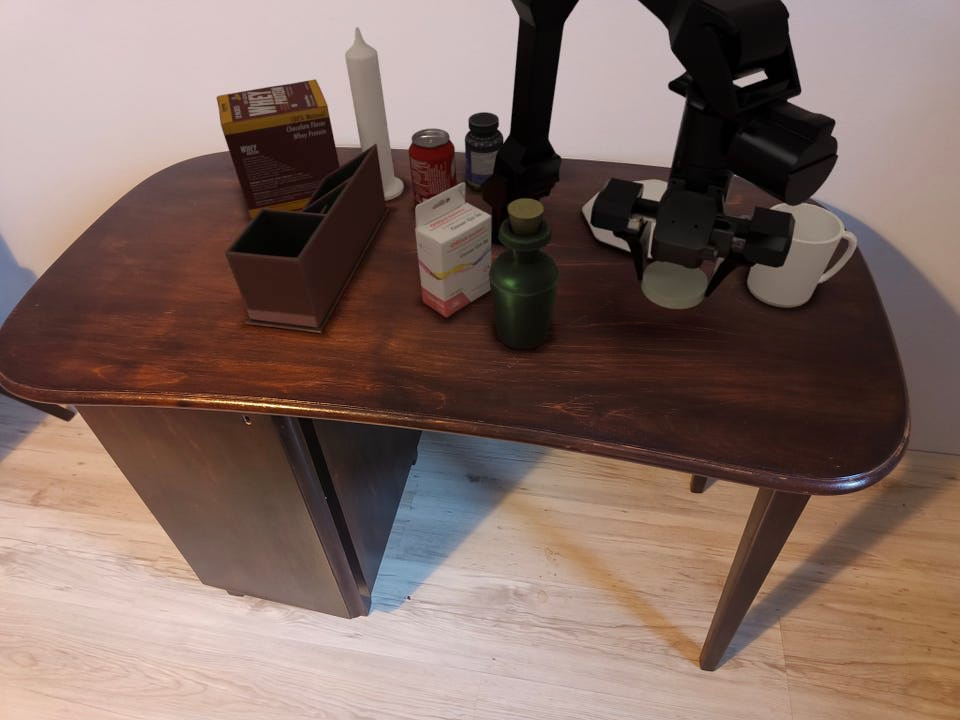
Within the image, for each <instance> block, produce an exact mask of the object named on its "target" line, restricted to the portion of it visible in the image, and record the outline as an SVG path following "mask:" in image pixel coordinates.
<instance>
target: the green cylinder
mask: <svg viewBox="0 0 960 720" xmlns="http://www.w3.org/2000/svg"><path fill="white" fill-rule="evenodd" d="M708 282H709V279H708V276H707V275H706V273H705V272H704V271H703V270H702V269H701V268H700V267H698V268H695V269H689V268H685V267H684V266H682V265H677V264H673V263H669V262H659V261H656V260H655V261H654V262H651V263H650V264H648V265H647V266H646V269H645V271H644V273H643V277H642V281H640V288H641V291H642V294H643V295H644V296H645V297H646V298H647V299H648V300H649V301H650V302H652V303H654V304H656V305H658V306H659V307H663V308H667V309H672V310H685V309H686V310H687V309H690V308H693V307H696V306H698V305H699V304H701V302H702V301H704V299H705V298H706V297H705V292H706V289H707V286H708Z"/></svg>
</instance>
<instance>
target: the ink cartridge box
mask: <svg viewBox="0 0 960 720" xmlns="http://www.w3.org/2000/svg"><path fill="white" fill-rule="evenodd" d="M466 184H467V183H466V182H460V183H459V184H457V186H455V187H453V188H450V189H448V190H446V191H444V192H442V193H440V194H438V195H436V196H434V197H432V198H431V199H429V200H427V201H425V202H423V203H421V204H418V205H417V206H416V209H415V210H414V211H415V212H414V213H415V214H414V215H415V229H414V232H415V242H416V250H417V251H416V252H417V259H418V260H417V261H418V269H419V278H420V287H421V297H422V303H424V304H425V305H427V306H428V307H429V308H431V309H433V311H435V312H437V314H440V315H441V316H442V317H444V318H446V319H447V318H449V317H450V316H451V315H453V314H455V313H456V312H458V311H460V310H461V309H463V308H464V307H466V306H467V305H469V304H471V303H472V302H474V301H475V300H477V299H479V298H480V297H482V296H484V295H485V294H487V293H488V292H491V288H490V280H489V271H490V267H491V265H492V242H491V232H492V214H489V213H488V212H485V211H484V210H482V209H480V208H478V207H476V206H474V205H473V204H470V203H469V202H466ZM447 198H450V200H449V202H448V203H446V204H444V205H442V206H440V207H438V208H436V209H434V210H433V209H432V208H433V206H434V205H436V204H438V203H439V201H440V200H442V199H443V200H446V199H447Z"/></svg>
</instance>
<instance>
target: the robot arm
mask: <svg viewBox="0 0 960 720" xmlns="http://www.w3.org/2000/svg"><path fill="white" fill-rule="evenodd" d="M510 1H511V3H512V5H513V7H514V9H515V11H516V14H517V15H518V30H517V31H518V32H517V44H516V56H515V67H514V80H513V92H512V105H511V116H510V128H509V134H508V136H507V137H506V139H504V142H503V145H502V146H501V148H500V149H499V151H498V152H497V154H496V159H495V164H494V169H493V174H492V175H491V176H490V177H489V178H488V179H487V180H486V181H484V182H483V183H482V184H481V185H480V189H481V191H480V193H481V197H482V200H483V201H484V202H485V203H486V204H487V205H488V206H490V208H491V243H494V244H498V245H503V246H505V245H504V244H502V243H501V242H500V240H499V237H498V235H499V231H500V228H501V225H502V223H503V222H504V221H505V220H506V219H507V218H509V213H508V205H509V204H510V203H511V202H513V201H515V200H518V199H524V198H525V199H533V200H537V201H539V202H540V203H541V199H542V198H546V197H550V195H551V192H552V190H553V189H554V188H555V186H556V184H557V183H559V182H560V168H561V165H562V162H563V159H562V156H561V155H559V154H558V153H557V152H556V150H555V148H554V147H553V145H552V143H551V141H550V129H551V122H552V115H553V108H554V101H555V93H556V85H557V80H558V79H557V78H558V73H559V72H558V71H559V65H560V58H561V50H562V43H563V35H564V28H565V23H566V21H568V19H569V17H570V15H571V14H572V12H573V10H574V9H575V8H576V6H577V5H578V3H579V1H580V0H510ZM637 1H638V2H639V3H640V4H641V5H642V6H643V7H644V8H645V9H647V11H648V12H650V13H651V14H652V15H653V16H655V17H656V18H657V20H659V21H660V22H661V24H662V25H663V26H664V28H665V29H666V30H667V34H668V40H669V46H670V51H671V52H672V54H673V55H674V57H675V58H676V59H677V61H678V62H679V63H680V65H681V66H682V67H683V68H684V70H685V72H684V73H682V74H680V75H679V76H678V77H675V78H674V79H673V80H670V81H669V82H668V84H667V89H668V90H669V91H671V92H673V93H674V94H677V95H679V96H681V97H682V98H684V99H685V101H684V106H683V109H682V114H681V120H680V125H679V129H678V134H677V139H676V143H675V148H674V151H673V155H672V156H673V157H672V161H671V165H670V170H669V175H668V179H667V180H668V181H667V183H668V184H667V189H666V191H665V192H664V194H663V195H662V197H661V199H660V202H659V201H654V200H649V199H645V198H642V196H643V190H644V184H641V183H636V182H634V181H631V180H626V179H620V178H617V177H616V178H615V177H609V179H607V180H605V182H604V184H603V185H602V186H601V189H600V190H599V191H600V192H599V191H598V192H599V194H598V196H597V197H596V199H595V201H594V204H593V207H592V212H591V220H590V223H591V225H592V226H593V227H595V228H600V229H604V230H609V231H613V235H614V236H615V237H617V238H621V239H623V240H624V241H626V242H627V244H628V246H629V248H630V251H631V253H630V254H631V258H632V261H633V266H634V270H635V273H636V277H637V280H638V281H639V282H642V277H643V273H644V271H645V269H646V267H647V266H648V261H649V259H648V251H649V242H650V233H651V225H652V222H654V223H656V225H655V228H654V231H653V236H652V244H651V251H650V254H651V257H652V258H653V259H652V260H654V261H655V262H656V261H659V262H669V263H673V264H677V265H682V266H684V267H685V268H689V269H695V268H700V267H701V266H702V265H703V263H704V261H705V260H706V261H709V262H710V261H711V262H714V263H715V262H716V260H717V262H716V264H715V266H714V268H713V270H712V272H711V274H710V276H709V279H708V286H707V289H706V292H705V297H704V298H709V297H710V296H711V295H712V293H713V292H714V291H715V290H716V289H717V288H718V287H719V286H720V284H721V283H722V282H723V281H724V280H725V279H726V278H727V277H728V275H731V273H732V272H734V271H735V270H736V269H738V268H741V267H745V268H751V267H753V266H755V264H761V265H765V266H770V267H774V268H778V267H781V266H783V265H784V263H785V261H786V258H787V256H788V253H789V250H790V247H791V244H792V238H793V233H794V227H795V219H794V217H793V215H792V213H788V212H783V211H778V210H773V209H770V208H767V207H762V206H757V205H755V206H754V208H753V210H752V213H751V215H750V214H742V215H740V216H736V215H731V214H730V215H729V214H726V213H725V211H726V207H727V203H728V199H729V196H730V193H731V190H732V186H733V182H734V179H735V177H737V178H739V179H740V180H743V181H745V182H746V183H748V184H750V185H752V186H754V187H756V188H757V189H759V190H760V191H762V192H764V193H766V194H768V195H770V196H771V197H773V198H775V199H777V200H779V201H780V202H782V203H786V204H787V205H790V206H796V205H800V204H802V203H806V202H807V201H808V200H809V199H810V198H811V197H813V196H814V195H815V194H816V193H817V192H818V191H819V189H820V188H821V187H822V186H823V185H824V184H825V182H826V181H827V180H828V178H829V177H830V175H831V173H832V172H833V170H834V167H835V166H836V164H837V161H838V159H839V155H838V148H839V146H838V145H839V144H838V143H839V142H838V139H837V137H835V136H833V135H832V134H833V131H834V129H835V126H836V125H837V124H836V123H837V121H836V119H835V118H832V117H830V116H828V115H827V114H823V113H818V112H813V111H811V110H808V109H806V108H804V107H801V106H799V105H796V104H794V103H792V102H790V101H788V100H790V99H793V98H795V97H798V96H801V94H802V85H801V81H800V76H799V72H798V71H799V69H798V67H797V63H796V59H795V54H794V50H793V45H792V41H791V36H790V26H789V25H790V24H789V19H790V16H791V15H790V11H789V9H788V7H787V6H786V4H785V3H784V2H783V1H782V0H637ZM761 72H764V75H765V77H766V78H765V79H762V80H757V81H755V82H753V83H750V84H747V85H744V86H741V85H738V84H735V83H734V81H737V80H740V79H743V78H746V77H750V76H752V75H754V74H755V75H756V74H758V73H761ZM542 218H543V219H544V213H543V214H542ZM717 258H718V259H717Z"/></svg>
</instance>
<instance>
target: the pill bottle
mask: <svg viewBox="0 0 960 720" xmlns="http://www.w3.org/2000/svg"><path fill="white" fill-rule="evenodd" d="M467 122H468V125H467V126H468V127H467V128H468V132H467V133H466V134H465V137H464V151H465V153H464V154H465V172H466V173H465V174H466V184H467V185H468V186H469V188H470V189H472V190H474V191H476V192H481V189H480V185H481V184H482V183H483V182H484V181H486V180H487V179H488V178H489V177H490V176H491V175H492V174H493V169H494V164H495V159H496V154H497V152H498V151H499V149H500V148H501V146H502V145H503V143H504V142H505V139H504V136H503V133H502V132H501V130H499V126H500V119H499V116H498V115H496V114H495V113H492V112H487V111H484V112H483V111H482V112H476V113H473V114H471V115H470V116H469V117H468V121H467Z"/></svg>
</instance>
